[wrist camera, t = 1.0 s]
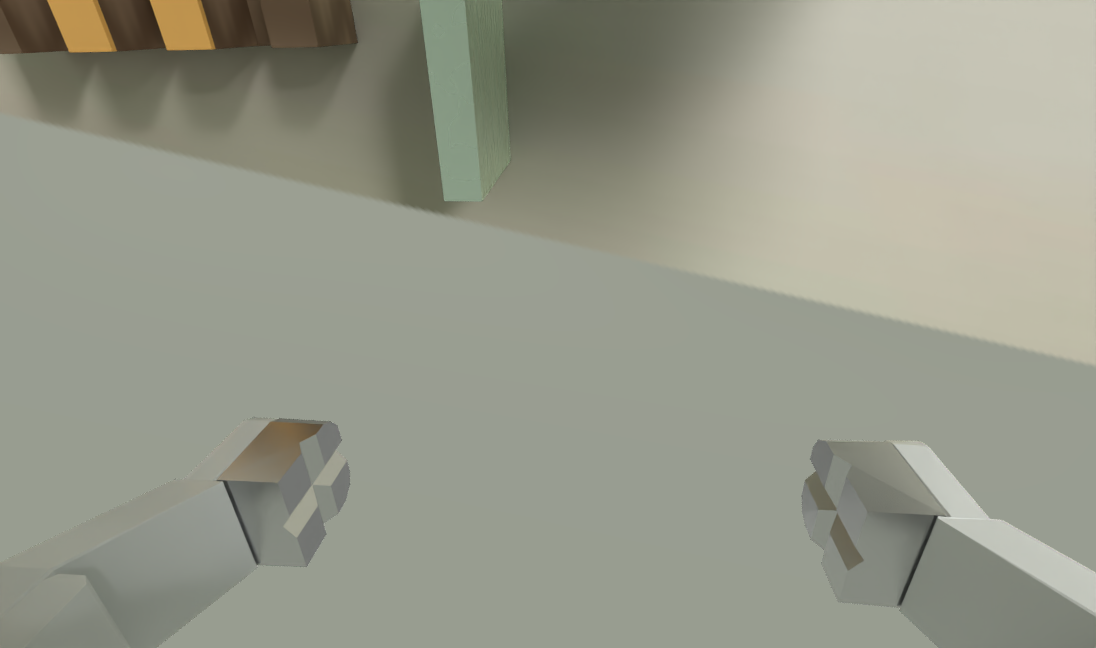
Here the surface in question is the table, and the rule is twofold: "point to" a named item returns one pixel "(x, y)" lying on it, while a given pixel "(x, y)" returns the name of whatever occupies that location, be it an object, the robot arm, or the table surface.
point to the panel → (467, 93)
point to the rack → (171, 24)
